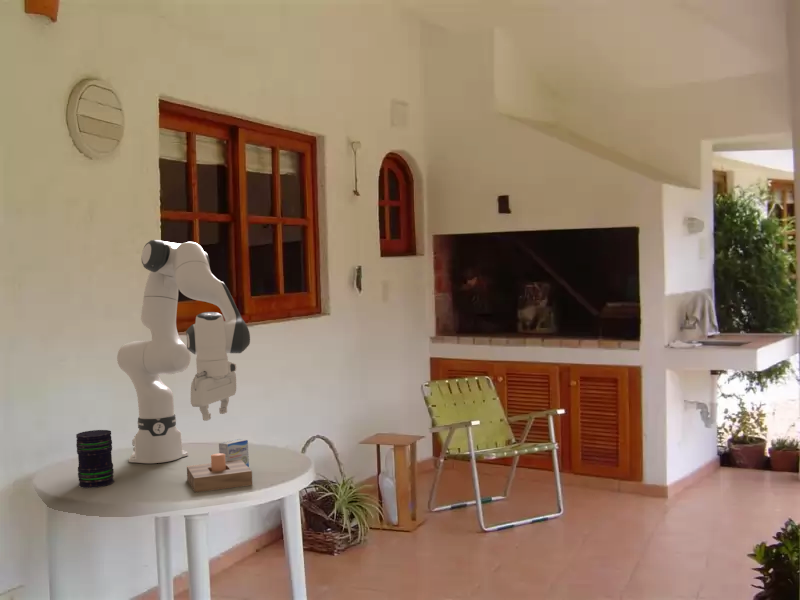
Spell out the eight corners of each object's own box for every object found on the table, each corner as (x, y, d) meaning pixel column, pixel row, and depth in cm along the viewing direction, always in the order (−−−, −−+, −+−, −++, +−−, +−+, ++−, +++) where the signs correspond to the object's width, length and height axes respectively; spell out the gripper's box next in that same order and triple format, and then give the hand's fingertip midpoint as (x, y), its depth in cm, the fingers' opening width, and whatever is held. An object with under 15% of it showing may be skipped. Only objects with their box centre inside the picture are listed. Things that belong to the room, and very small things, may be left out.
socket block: (187, 479, 248) (186, 466, 248) (241, 472, 253) (241, 459, 253) (195, 492, 233) (194, 478, 233) (252, 485, 239) (251, 471, 238)
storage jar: (100, 477, 254) (98, 428, 253) (121, 481, 248) (118, 431, 248) (71, 485, 246) (68, 434, 245) (91, 489, 240) (89, 437, 239)
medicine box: (228, 472, 254) (227, 444, 254) (219, 470, 257) (218, 442, 257) (249, 467, 260) (248, 439, 260) (240, 465, 263) (239, 438, 263)
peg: (209, 482, 243) (208, 455, 243) (220, 479, 246) (219, 452, 246) (217, 484, 240) (216, 457, 240) (229, 481, 243) (227, 454, 243)
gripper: (203, 374, 231) (206, 424, 231) (239, 364, 250) (241, 410, 251) (183, 374, 232) (186, 424, 233) (220, 364, 252) (222, 409, 253)
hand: (215, 416), depth 242 cm, fingers open, 8 cm apart
